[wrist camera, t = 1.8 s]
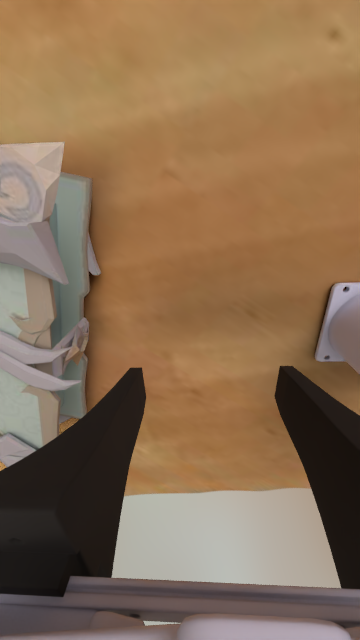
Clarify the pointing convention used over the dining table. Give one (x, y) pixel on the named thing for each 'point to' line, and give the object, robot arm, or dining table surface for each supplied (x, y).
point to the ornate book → (41, 296)
